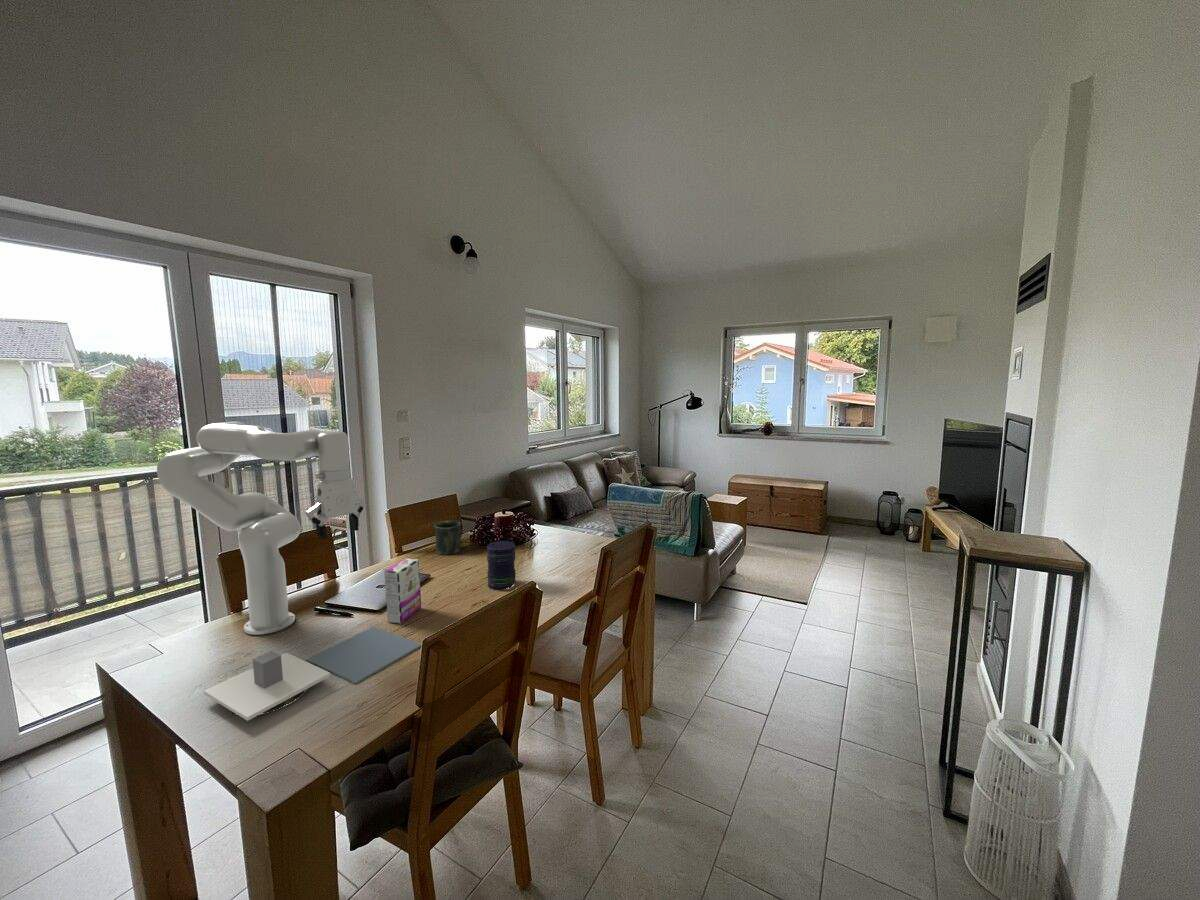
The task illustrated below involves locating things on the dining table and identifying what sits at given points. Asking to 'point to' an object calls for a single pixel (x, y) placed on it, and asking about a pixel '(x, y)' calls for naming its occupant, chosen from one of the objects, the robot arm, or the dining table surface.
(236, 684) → the lid
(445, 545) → the mug
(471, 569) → the dining table surface
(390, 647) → the mat
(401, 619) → the candy bar box
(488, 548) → the storage jar
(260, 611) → the robot arm
